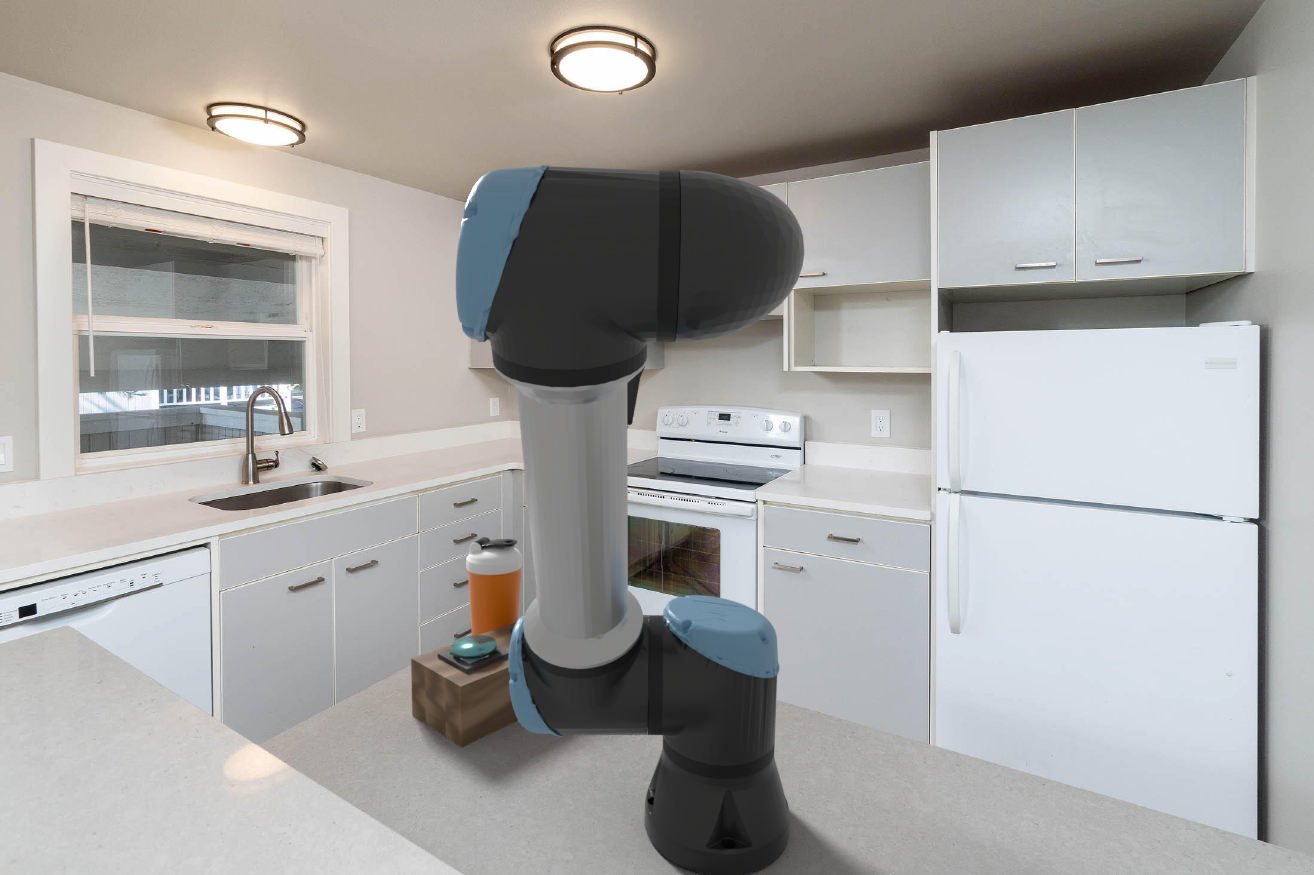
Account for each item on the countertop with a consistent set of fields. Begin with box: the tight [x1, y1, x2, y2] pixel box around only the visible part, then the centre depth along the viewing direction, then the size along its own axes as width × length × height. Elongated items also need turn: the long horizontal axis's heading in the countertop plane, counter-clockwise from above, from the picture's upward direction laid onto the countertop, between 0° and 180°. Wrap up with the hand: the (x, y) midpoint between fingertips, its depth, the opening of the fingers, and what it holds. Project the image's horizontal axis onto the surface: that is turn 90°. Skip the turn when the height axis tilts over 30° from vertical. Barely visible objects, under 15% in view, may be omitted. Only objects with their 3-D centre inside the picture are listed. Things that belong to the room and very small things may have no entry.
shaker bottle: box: [465, 536, 524, 636], centre depth 106 cm, size 9×9×20 cm
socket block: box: [410, 622, 518, 748], centre depth 94 cm, size 12×24×9 cm, turn 140°
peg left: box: [450, 634, 497, 664], centre depth 89 cm, size 6×6×9 cm
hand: (609, 474), depth 95 cm, fingers closed
